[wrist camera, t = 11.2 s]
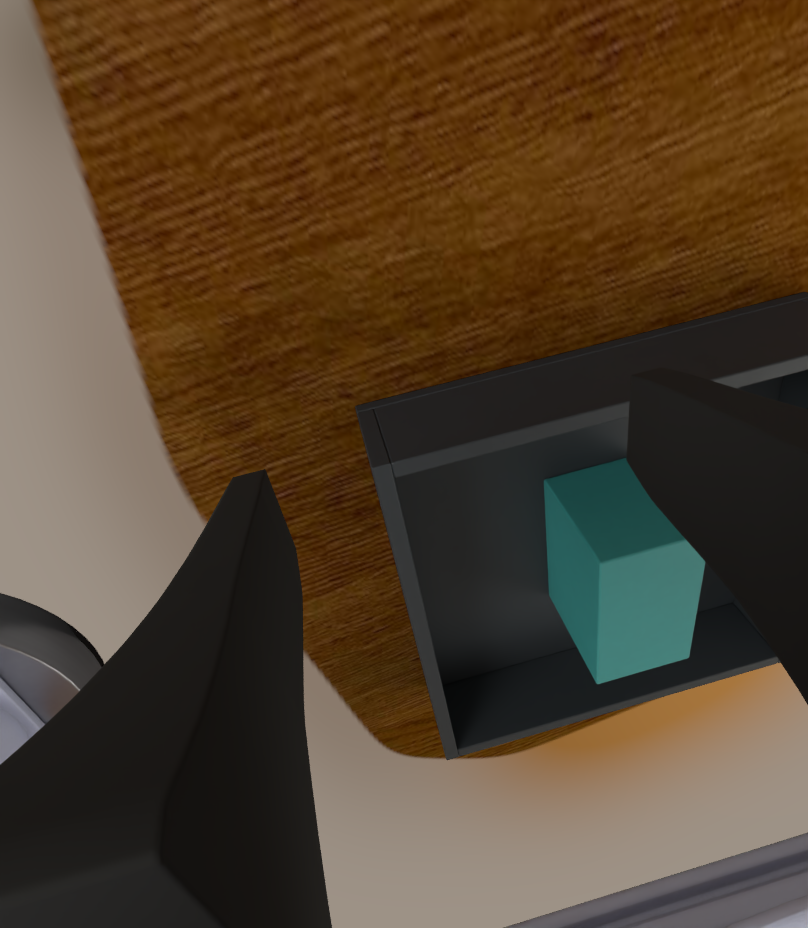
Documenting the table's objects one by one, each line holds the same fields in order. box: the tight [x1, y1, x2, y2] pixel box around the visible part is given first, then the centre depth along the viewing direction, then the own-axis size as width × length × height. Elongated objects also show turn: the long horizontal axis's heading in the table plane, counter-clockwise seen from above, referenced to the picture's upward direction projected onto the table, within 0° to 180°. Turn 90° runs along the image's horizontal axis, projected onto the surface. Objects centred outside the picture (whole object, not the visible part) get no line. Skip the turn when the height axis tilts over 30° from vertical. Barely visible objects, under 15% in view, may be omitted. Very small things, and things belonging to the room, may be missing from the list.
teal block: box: [544, 458, 705, 684], centre depth 24 cm, size 4×7×5 cm, turn 10°
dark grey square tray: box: [355, 292, 808, 760], centre depth 25 cm, size 17×17×4 cm
